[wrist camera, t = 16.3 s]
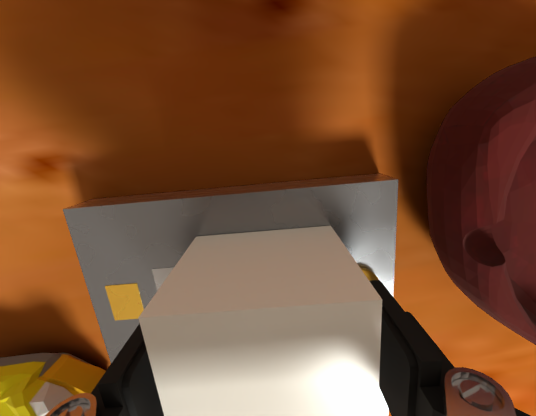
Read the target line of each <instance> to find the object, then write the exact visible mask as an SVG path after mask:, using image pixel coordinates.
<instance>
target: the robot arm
mask: <svg viewBox="0 0 536 416" xmlns="http://www.w3.org/2000/svg"><path fill="white" fill-rule="evenodd" d="M370 283H371V284H372V286H373V287H374V288H375V290H376V291H377V293H378V294H379V296H380V297H381V299H382V321H381V347H380V373H379V388H380V390H381V392H382V395H383V397H384V399H385V401H386V404H387V406H388V408H389V411H390V413H391V415H392V416H530V415H528V414H526V413H524V412H522V411H520V410H518V409H516V408H514V406H513V403H512V400H511V398H510V397H509V395H508V393H507V392H506V391H505V390H504V389H503V387H502V386H501V385H499V384H498V383H497V382H496V381H494V380H493V379H492V378H490V377H488V376H487V375H485V374H483V373H481V372H478V371H476V370H473V369H468V368H464V367H462V368H455V367H454V366H453V365H452V364H451V363H450V361H449V360H448V359H447V358H446V356H445V355H444V354H443V353H442V351H441V350H440V349H439V348H438V346H437V345H436V344H435V343H434V341H433V340H432V339H431V338H430V336H429V335H428V334H427V333H426V331H425V330H424V329H423V328H422V326H421V325H420V324H419V323H418V322H417V320H416V319H415V318H414V317H413V315H412V314H411V313H409V312H404V310H403V309H402V308H401V306H400V305H399V304H398V303H397V301H396V300H395V299H394V297H393V296H392V295H391V294H390V292H389V291H388V290H387V288H386V287H385V286H384V285H383V283H382V282H381V281H380V280H371V281H370ZM45 416H164V413H163V410H162V406H161V402H160V398H159V394H158V391H157V387H156V383H155V379H154V376H153V372H152V368H151V364H150V360H149V357H148V353H147V349H146V345H145V341H144V338H143V334H142V330H141V326H140V323H139V325H138V326H137V328H136V329H135V330H134V332H133V333H132V335H131V336H130V338H129V339H128V340H127V342H126V343H125V345H124V346H123V348H122V349H121V350H120V352H119V353H118V355H117V356H116V358H115V359H114V360H113V362H112V363H111V365H110V366H109V368H108V369H107V370H106V372H105V373H104V375H103V376H102V378H101V379H100V381H99V382H98V383H97V385H96V386H95V388H94V389H93V391H92V392H91V393H80V394H77V395H74V396H71V397H69V398H67V399H66V400H64V401H62V402H60V403H59V404H58V405H56V406H55V407H54V408H52V409H51V410H50V411H49V412H48V413H47V414H46V415H45Z"/></svg>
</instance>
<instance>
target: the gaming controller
mask: <svg viewBox="0 0 536 416" xmlns="http://www.w3.org/2000/svg"><path fill="white" fill-rule="evenodd" d="M105 372H106V371H105V370H103V369H101V368H99V367H96V366H94V365H92V364H90V363H88V362H86V361H84V360H82V359H80V358H77V357H75V356H73V355H71V354H69V353H35V354H27V355H18V356H10V357H2V358H0V416H45V415H46V414H47V413H48V412H49V411H50V410H51V409H52V408H54V407H55V406H56V405H58V404H59V403H60V402H62V401H64V400H66V399H67V398H69V397H71V396H74V395H77V394H80V393H91V392H92V391H93V389H94V388H95V386H96V385H97V383H98V382H99V381H100V379H101V378H102V376H103V375H104V373H105Z"/></svg>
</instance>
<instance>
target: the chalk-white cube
mask: <svg viewBox="0 0 536 416" xmlns="http://www.w3.org/2000/svg"><path fill="white" fill-rule="evenodd" d="M138 319H139V323H140V326H141V330H142V334H143V338H144V341H145V345H146V349H147V353H148V357H149V360H150V364H151V368H152V372H153V376H154V379H155V383H156V387H157V391H158V394H159V398H160V402H161V406H162V410H163V413H164V416H378V399H379V373H380V347H381V321H382V299H381V297H380V296H379V294H378V293H377V291H376V290H375V288H374V287H373V286H372V284H371V283H370V281H369V280H368V278H367V277H366V275H365V274H364V273H363V271H362V270H361V268H360V267H359V265H358V264H357V263H356V261H355V260H354V258H353V257H352V255H351V254H350V252H349V251H348V250H347V248H346V247H345V245H344V244H343V242H342V241H341V240H340V238H339V237H338V235H337V234H336V232H335V231H334V229H333V228H332V227H331V226H319V227H307V228H295V229H282V230H270V231H258V232H246V233H233V234H221V235H209V236H197V237H195V239H194V240H193V242H192V243H191V244H190V246H189V247H188V249H187V250H186V251H185V253H184V254H183V256H182V257H181V258H180V260H179V261H178V263H177V264H176V265H175V267H174V268H173V270H172V271H171V273H170V274H169V275H168V277H167V278H166V280H165V281H164V282H163V284H162V285H161V287H160V288H159V289H158V291H157V292H156V294H155V295H154V296H153V298H152V299H151V301H150V302H149V303H148V305H147V306H146V308H145V309H144V310H143V312H142V313H141V315H140V316H139V317H138Z"/></svg>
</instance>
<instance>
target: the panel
mask: <svg viewBox="0 0 536 416" xmlns="http://www.w3.org/2000/svg"><path fill="white" fill-rule="evenodd" d="M397 198H398V179H395V178H392V177H389V176H386V175H383V174H380V173H376V174H365V175H354V176H343V177H332V178H321V179H310V180H299V181H287V182H276V183H265V184H254V185H243V186H232V187H221V188H209V189H198V190H187V191H176V192H165V193H154V194H143V195H131V196H120V197H109V198H98V199H91V200H88V201H85V202H82V203H79V204H76V205H74V206H71V207H68V208H65V209H63V212H64V215H65V218H66V221H67V224H68V227H69V231H70V234H71V237H72V240H73V243H74V247H75V250H76V253H77V256H78V259H79V263H80V266H81V269H82V272H83V275H84V278H85V282H86V285H87V288H88V291H89V294H90V298H91V301H92V304H93V307H94V310H95V313H96V317H97V320H98V323H99V326H100V329H101V333H102V336H103V339H104V342H105V345H106V349H107V352H108V355H109V358H110V361H111V363H112V362H113V360H114V359H115V358H116V356H117V355H118V353H119V352H120V350H121V349H122V348H123V346H124V345H125V343H126V342H127V340H128V339H129V338H130V336H131V335H132V333H133V332H134V330H135V329H136V328H137V326H138V325H139V319H138V317H139V316H140V315H141V313H142V312H143V310H144V309H145V308H146V306H147V305H148V303H149V302H150V301H151V299H152V298H153V296H154V295H155V294H156V292H157V291H158V289H159V288H160V287H161V285H162V284H163V282H164V281H165V280H166V278H167V277H168V275H169V274H170V273H171V271H172V270H173V268H174V267H175V265H176V264H177V263H178V261H179V260H180V258H181V257H182V256H183V254H184V253H185V251H186V250H187V249H188V247H189V246H190V244H191V243H192V242H193V240H194V239H195V237H197V236H209V235H221V234H233V233H246V232H258V231H270V230H282V229H295V228H307V227H319V226H331V227H332V228H333V229H334V231H335V232H336V234H337V235H338V237H339V238H340V240H341V241H342V242H343V244H344V245H345V247H346V248H347V250H348V251H349V252H350V254H351V255H352V257H353V258H354V260H355V261H356V263H357V264H358V265H359V267H360V268H361V270H362V271H363V273H364V274H365V275H366V277H367V278H368V280H369V281H371V280H380V281H381V282H382V283H383V285H384V286H385V287H386V288H387V290H388V291H389V292H390V294H391V295H392V296H393V292H394V268H395V245H396V222H397ZM388 409H389V408H388V406H387V404H386V401H385V399H384V397H383V395H382V392H381V390H380V388H379V399H378V416H388Z"/></svg>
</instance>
